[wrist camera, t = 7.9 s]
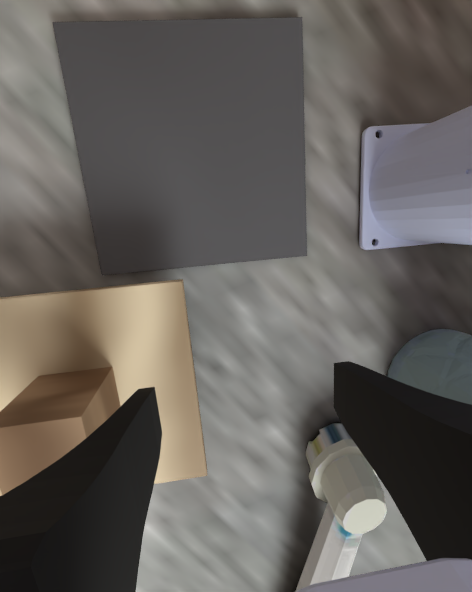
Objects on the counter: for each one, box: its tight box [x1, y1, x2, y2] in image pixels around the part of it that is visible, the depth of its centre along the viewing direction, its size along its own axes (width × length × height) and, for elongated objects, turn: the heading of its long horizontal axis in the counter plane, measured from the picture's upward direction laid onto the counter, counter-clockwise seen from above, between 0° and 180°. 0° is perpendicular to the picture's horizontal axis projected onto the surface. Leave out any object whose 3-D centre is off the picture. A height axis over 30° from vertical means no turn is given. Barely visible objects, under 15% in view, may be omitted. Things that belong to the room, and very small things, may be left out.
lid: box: [0, 279, 207, 496], centre depth 15 cm, size 13×13×5 cm
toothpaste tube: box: [296, 423, 387, 591], centre depth 26 cm, size 5×7×25 cm
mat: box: [53, 17, 307, 275], centre depth 19 cm, size 14×14×1 cm
